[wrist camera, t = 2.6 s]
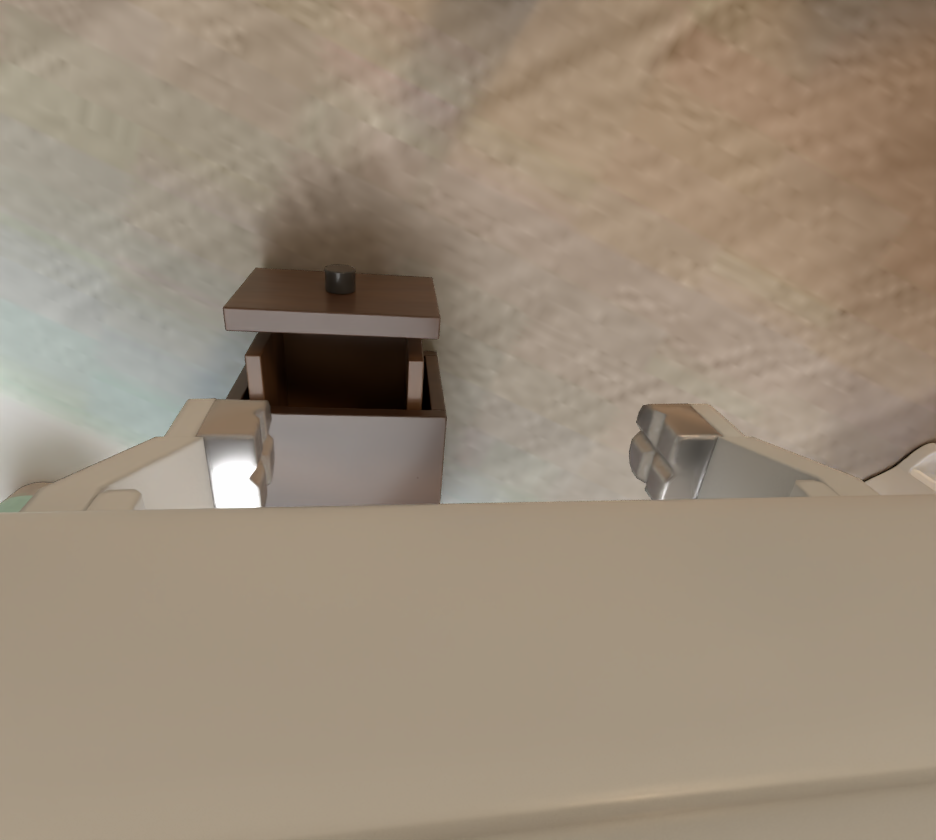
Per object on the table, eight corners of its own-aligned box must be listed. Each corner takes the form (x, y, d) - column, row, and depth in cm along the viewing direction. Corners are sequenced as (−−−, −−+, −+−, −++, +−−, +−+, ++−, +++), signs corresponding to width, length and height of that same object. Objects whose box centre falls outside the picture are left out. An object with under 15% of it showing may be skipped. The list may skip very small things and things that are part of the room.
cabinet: (256, 344, 36) (217, 412, 29) (436, 351, 38) (446, 417, 30) (273, 512, 43) (245, 604, 35) (426, 511, 45) (432, 600, 37)
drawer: (253, 246, 33) (218, 282, 26) (433, 257, 34) (442, 293, 28) (272, 448, 39) (248, 515, 33) (422, 450, 41) (427, 514, 34)
